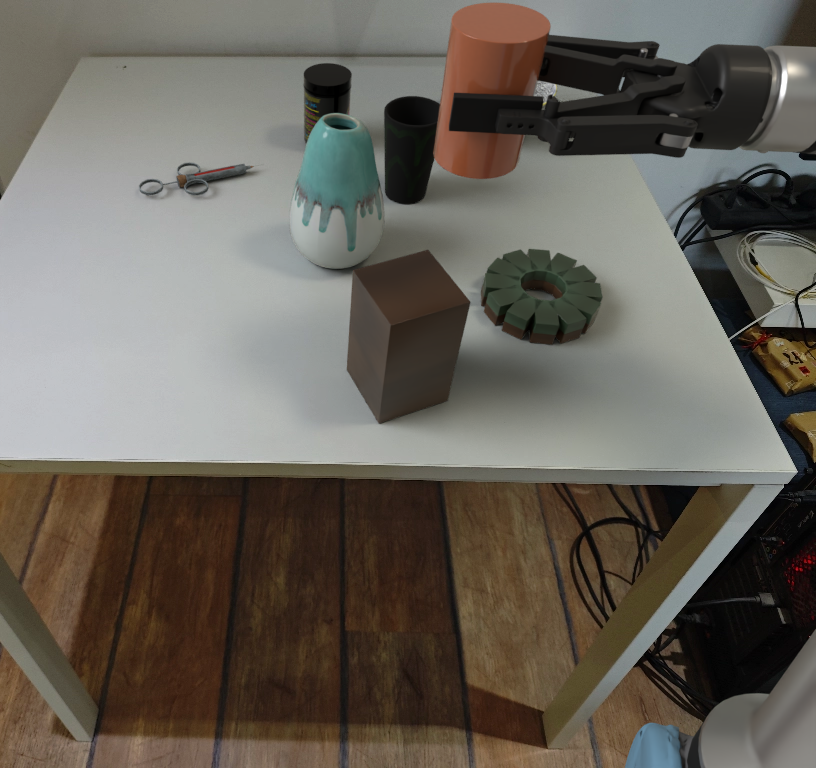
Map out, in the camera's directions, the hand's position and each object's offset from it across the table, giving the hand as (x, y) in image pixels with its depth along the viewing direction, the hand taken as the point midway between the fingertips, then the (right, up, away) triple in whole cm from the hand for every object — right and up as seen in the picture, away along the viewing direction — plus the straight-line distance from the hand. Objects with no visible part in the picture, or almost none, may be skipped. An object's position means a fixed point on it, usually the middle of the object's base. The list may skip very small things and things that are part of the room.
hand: (450, 86), depth 57 cm
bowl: (+17, +15, +53) cm, 58 cm away
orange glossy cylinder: (+3, -4, +4) cm, 7 cm away
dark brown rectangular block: (-2, -24, +19) cm, 31 cm away
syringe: (-26, +5, +44) cm, 51 cm away
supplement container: (-8, +13, +51) cm, 53 cm away
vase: (-8, -7, +34) cm, 36 cm away
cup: (+2, +3, +42) cm, 43 cm away
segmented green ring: (+16, -14, +28) cm, 35 cm away
